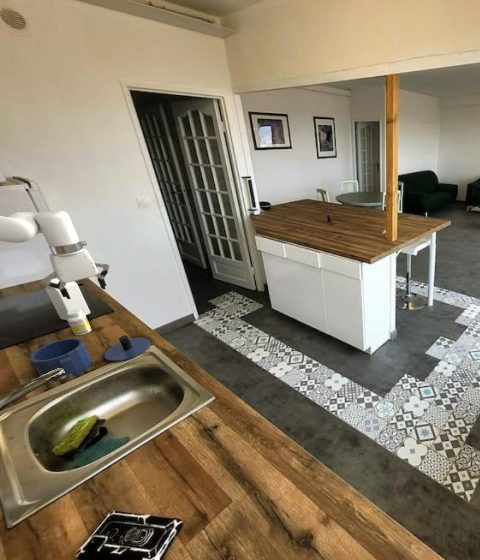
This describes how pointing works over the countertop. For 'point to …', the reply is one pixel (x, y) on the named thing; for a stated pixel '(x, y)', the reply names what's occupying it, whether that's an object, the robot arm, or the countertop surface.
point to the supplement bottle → (78, 322)
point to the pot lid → (127, 348)
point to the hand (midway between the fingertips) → (86, 293)
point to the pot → (62, 357)
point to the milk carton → (63, 303)
